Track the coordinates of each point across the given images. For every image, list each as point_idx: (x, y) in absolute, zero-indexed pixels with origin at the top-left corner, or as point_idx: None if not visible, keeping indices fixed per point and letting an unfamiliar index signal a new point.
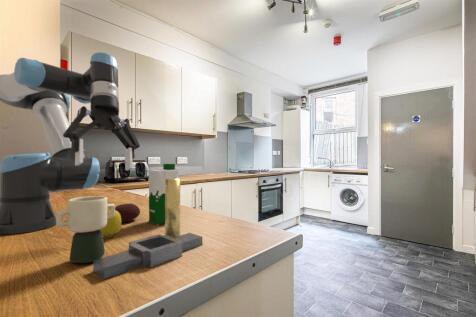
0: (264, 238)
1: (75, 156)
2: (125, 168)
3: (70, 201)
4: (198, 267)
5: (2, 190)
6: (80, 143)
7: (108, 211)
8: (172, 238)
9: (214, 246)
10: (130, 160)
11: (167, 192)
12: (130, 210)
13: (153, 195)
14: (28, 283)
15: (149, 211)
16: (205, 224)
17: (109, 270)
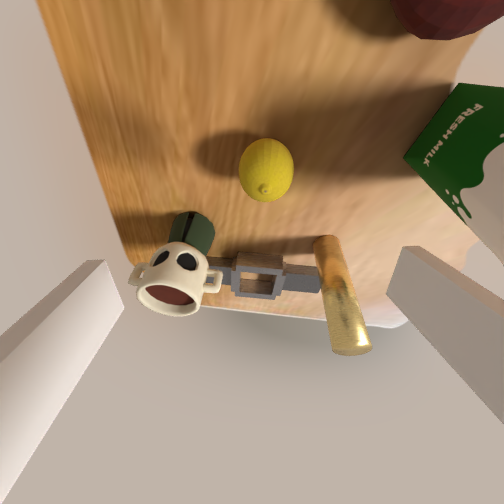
0: (367, 314)
1: (45, 303)
2: (412, 253)
3: (140, 300)
4: (263, 304)
5: None
6: (14, 444)
7: (255, 194)
8: (279, 288)
9: (317, 293)
10: (423, 331)
11: (327, 319)
12: (448, 33)
13: (460, 190)
14: (136, 235)
15: (454, 119)
16: (433, 239)
17: None
